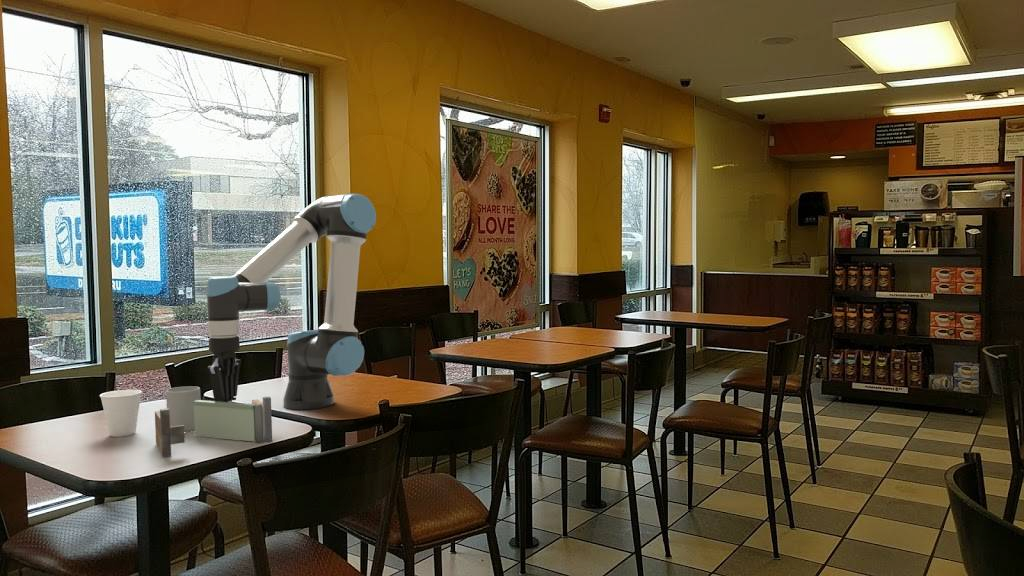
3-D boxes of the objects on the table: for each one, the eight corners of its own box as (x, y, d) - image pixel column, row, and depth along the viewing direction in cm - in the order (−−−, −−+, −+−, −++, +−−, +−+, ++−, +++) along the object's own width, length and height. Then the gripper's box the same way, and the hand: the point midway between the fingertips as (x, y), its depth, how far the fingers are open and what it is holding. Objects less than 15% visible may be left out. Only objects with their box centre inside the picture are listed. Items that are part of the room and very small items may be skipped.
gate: (264, 440, 188) (263, 404, 188) (260, 442, 186) (258, 406, 186) (199, 434, 196) (198, 399, 195) (194, 435, 194) (193, 401, 194)
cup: (101, 432, 200) (99, 391, 200) (143, 428, 205) (141, 388, 204) (100, 441, 192) (98, 398, 191) (144, 436, 196) (142, 394, 196)
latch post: (175, 441, 189) (173, 398, 189) (185, 455, 177) (183, 408, 176) (155, 444, 187) (153, 400, 186) (163, 458, 174) (161, 411, 174)
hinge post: (258, 430, 200) (257, 389, 200) (272, 441, 188) (270, 397, 188) (252, 431, 199) (251, 390, 199) (265, 442, 188) (264, 398, 187)
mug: (201, 431, 200) (199, 390, 200) (166, 434, 197) (164, 393, 197) (203, 421, 212) (201, 383, 211) (170, 424, 209) (168, 385, 208)
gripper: (223, 333, 202) (225, 419, 204) (196, 339, 189) (199, 431, 191) (249, 333, 201) (252, 420, 202) (224, 339, 188) (227, 432, 190)
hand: (226, 425), depth 197 cm, fingers closed
